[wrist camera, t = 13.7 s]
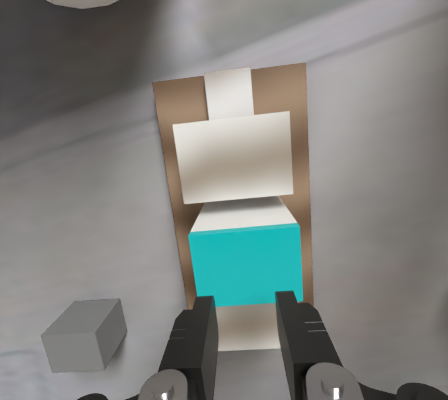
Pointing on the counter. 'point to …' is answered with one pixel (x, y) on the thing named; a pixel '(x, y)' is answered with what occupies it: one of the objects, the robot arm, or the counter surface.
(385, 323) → the counter surface
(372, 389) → the robot arm
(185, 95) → the board
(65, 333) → the grey block
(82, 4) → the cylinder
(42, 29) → the counter surface
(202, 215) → the block
